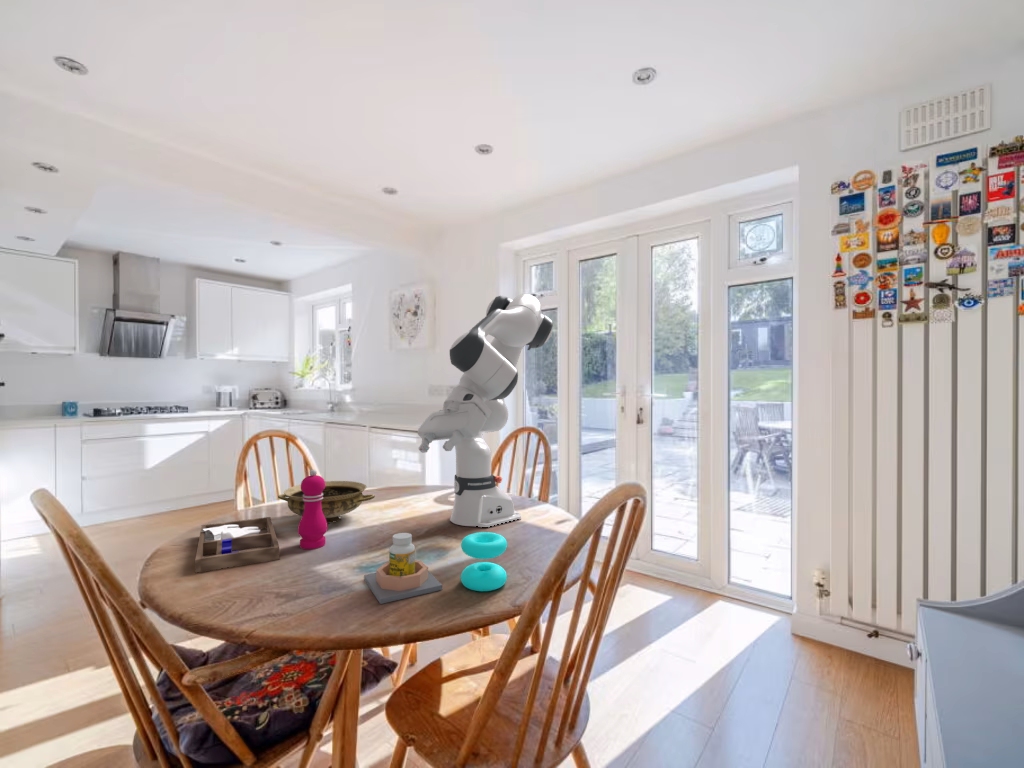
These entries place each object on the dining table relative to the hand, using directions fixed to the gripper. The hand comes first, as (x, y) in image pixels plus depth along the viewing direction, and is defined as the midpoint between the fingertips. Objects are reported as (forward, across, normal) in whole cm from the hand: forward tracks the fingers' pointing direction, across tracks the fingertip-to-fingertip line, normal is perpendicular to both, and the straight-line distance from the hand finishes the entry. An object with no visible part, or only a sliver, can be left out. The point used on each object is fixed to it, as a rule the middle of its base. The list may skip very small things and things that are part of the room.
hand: (433, 450), depth 112 cm
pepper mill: (+26, -37, +6) cm, 46 cm away
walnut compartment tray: (+34, -50, -6) cm, 60 cm away
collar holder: (+27, -1, +12) cm, 30 cm away
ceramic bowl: (+15, -56, +13) cm, 60 cm away
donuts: (+20, +11, +22) cm, 32 cm away
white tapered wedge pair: (+33, -55, -5) cm, 64 cm away
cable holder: (+38, -42, -7) cm, 57 cm away
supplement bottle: (+27, 0, +11) cm, 29 cm away
